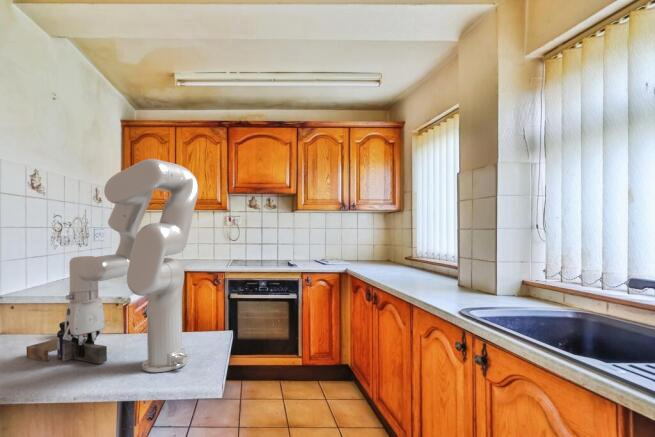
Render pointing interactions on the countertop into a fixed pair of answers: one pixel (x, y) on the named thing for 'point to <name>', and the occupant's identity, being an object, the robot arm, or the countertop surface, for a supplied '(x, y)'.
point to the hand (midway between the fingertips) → (85, 354)
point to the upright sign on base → (86, 352)
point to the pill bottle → (61, 340)
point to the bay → (41, 350)
